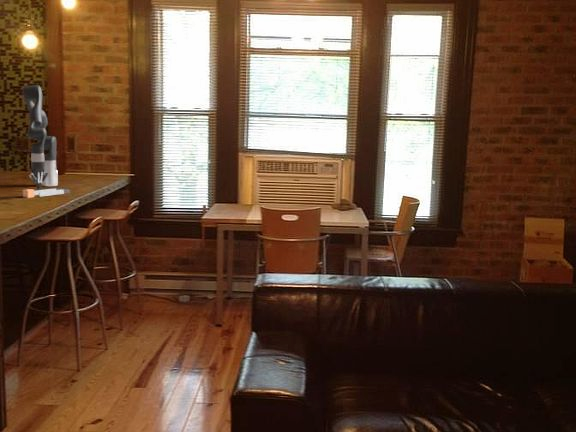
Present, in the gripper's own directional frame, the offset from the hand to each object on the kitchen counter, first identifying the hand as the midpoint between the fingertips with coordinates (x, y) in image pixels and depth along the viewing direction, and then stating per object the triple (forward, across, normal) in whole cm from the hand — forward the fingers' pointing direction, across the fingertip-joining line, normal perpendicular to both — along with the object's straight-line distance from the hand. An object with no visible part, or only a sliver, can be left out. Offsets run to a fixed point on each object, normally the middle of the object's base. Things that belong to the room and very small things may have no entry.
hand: (38, 188), depth 410 cm
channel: (+4, -6, 0) cm, 8 cm away
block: (+4, +8, 0) cm, 9 cm away
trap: (+4, -18, 0) cm, 19 cm away
